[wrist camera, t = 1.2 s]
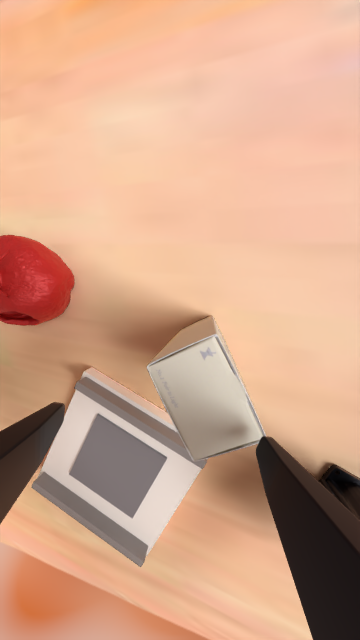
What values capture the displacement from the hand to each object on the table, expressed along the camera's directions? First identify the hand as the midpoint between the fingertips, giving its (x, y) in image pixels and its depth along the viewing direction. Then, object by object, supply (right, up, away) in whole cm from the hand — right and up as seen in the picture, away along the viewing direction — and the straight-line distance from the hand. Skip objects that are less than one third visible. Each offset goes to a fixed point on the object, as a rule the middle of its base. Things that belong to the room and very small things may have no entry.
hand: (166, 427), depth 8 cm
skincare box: (+4, +2, +13) cm, 14 cm away
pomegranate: (-17, +9, +16) cm, 25 cm away
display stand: (-7, -14, +17) cm, 23 cm away
